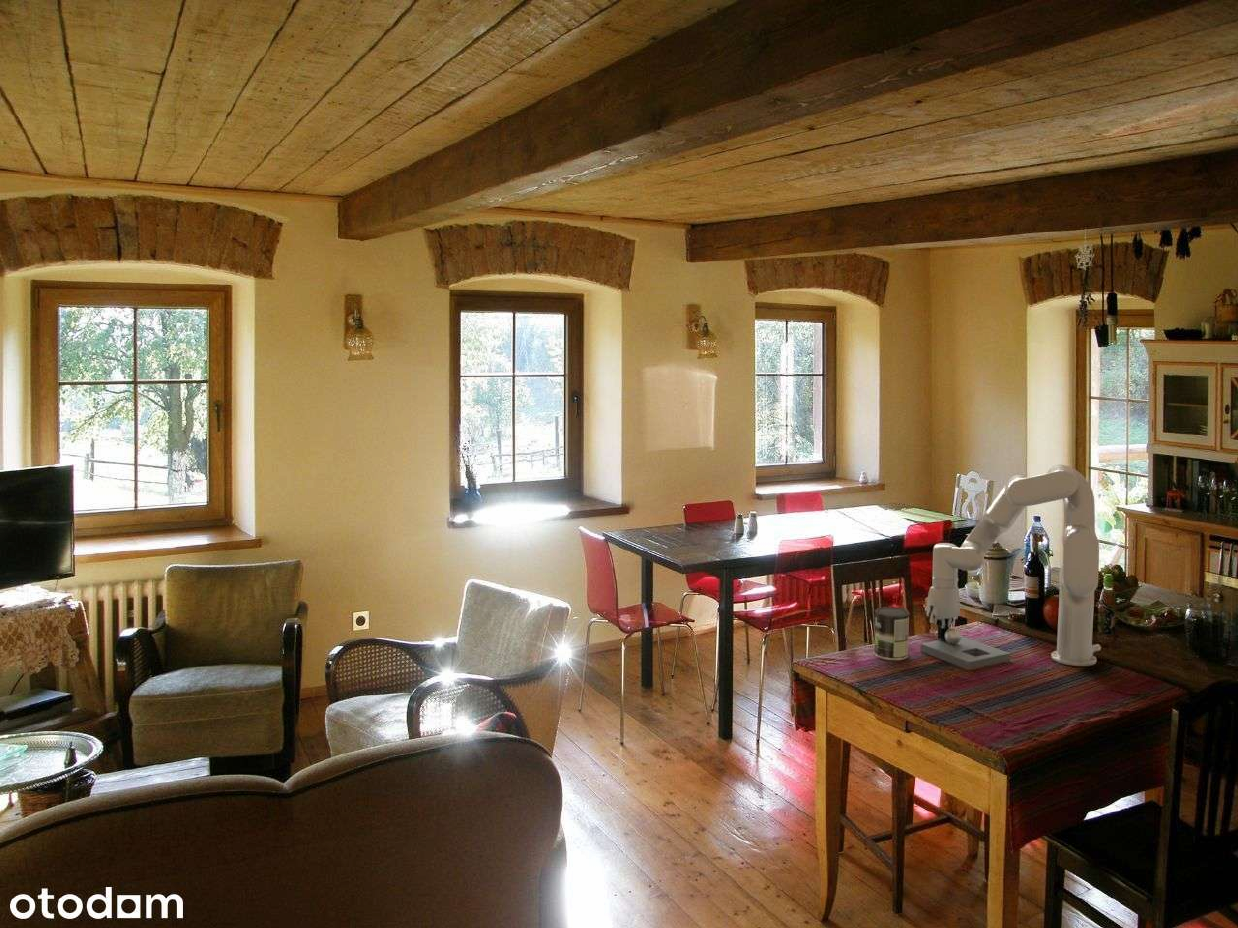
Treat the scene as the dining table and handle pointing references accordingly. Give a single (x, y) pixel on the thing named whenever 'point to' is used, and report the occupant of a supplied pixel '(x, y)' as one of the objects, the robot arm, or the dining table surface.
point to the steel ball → (953, 636)
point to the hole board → (965, 653)
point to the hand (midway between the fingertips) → (943, 638)
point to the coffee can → (891, 633)
